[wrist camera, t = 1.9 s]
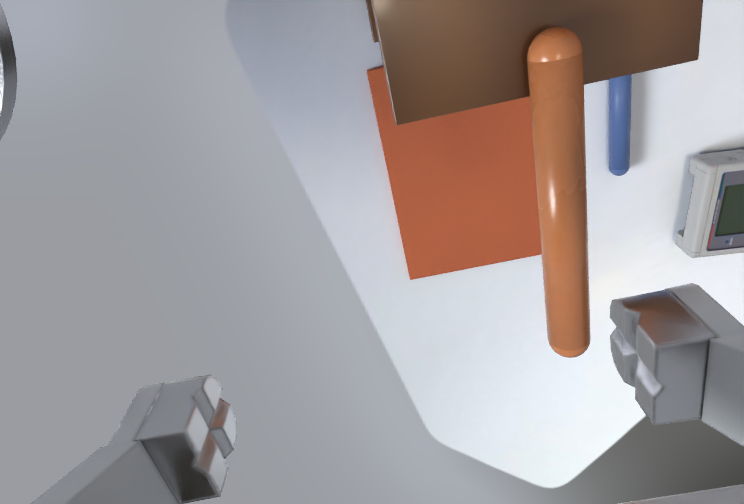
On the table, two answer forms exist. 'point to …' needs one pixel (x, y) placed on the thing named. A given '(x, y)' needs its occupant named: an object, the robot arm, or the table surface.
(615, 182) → the table surface
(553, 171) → the square head mallet
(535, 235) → the terracotta mat
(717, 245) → the handheld gaming device
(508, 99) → the brown wooden pedestal
